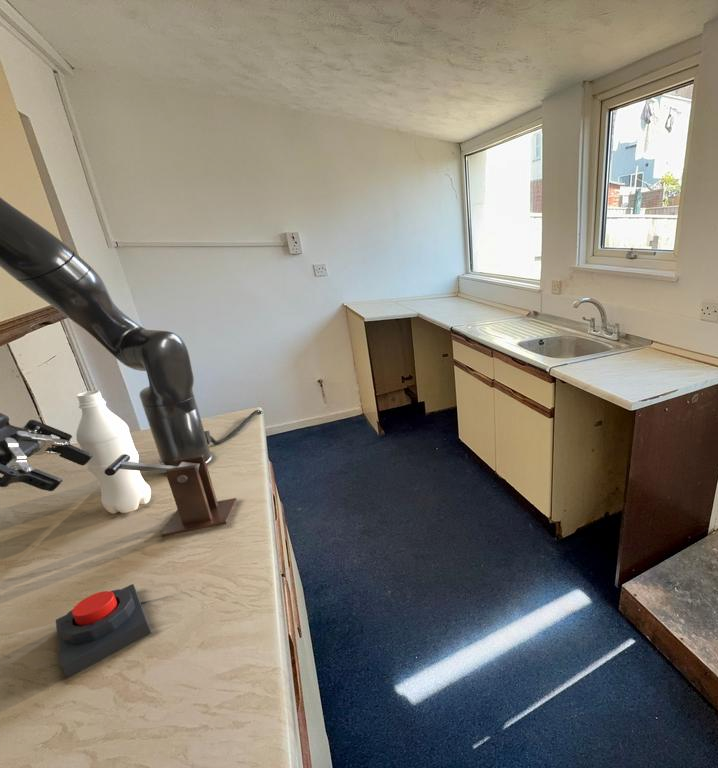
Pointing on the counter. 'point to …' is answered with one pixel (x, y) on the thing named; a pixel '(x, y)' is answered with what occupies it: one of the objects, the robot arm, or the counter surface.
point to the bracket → (195, 498)
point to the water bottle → (110, 454)
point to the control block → (101, 633)
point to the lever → (140, 466)
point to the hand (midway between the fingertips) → (74, 472)
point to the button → (94, 608)
